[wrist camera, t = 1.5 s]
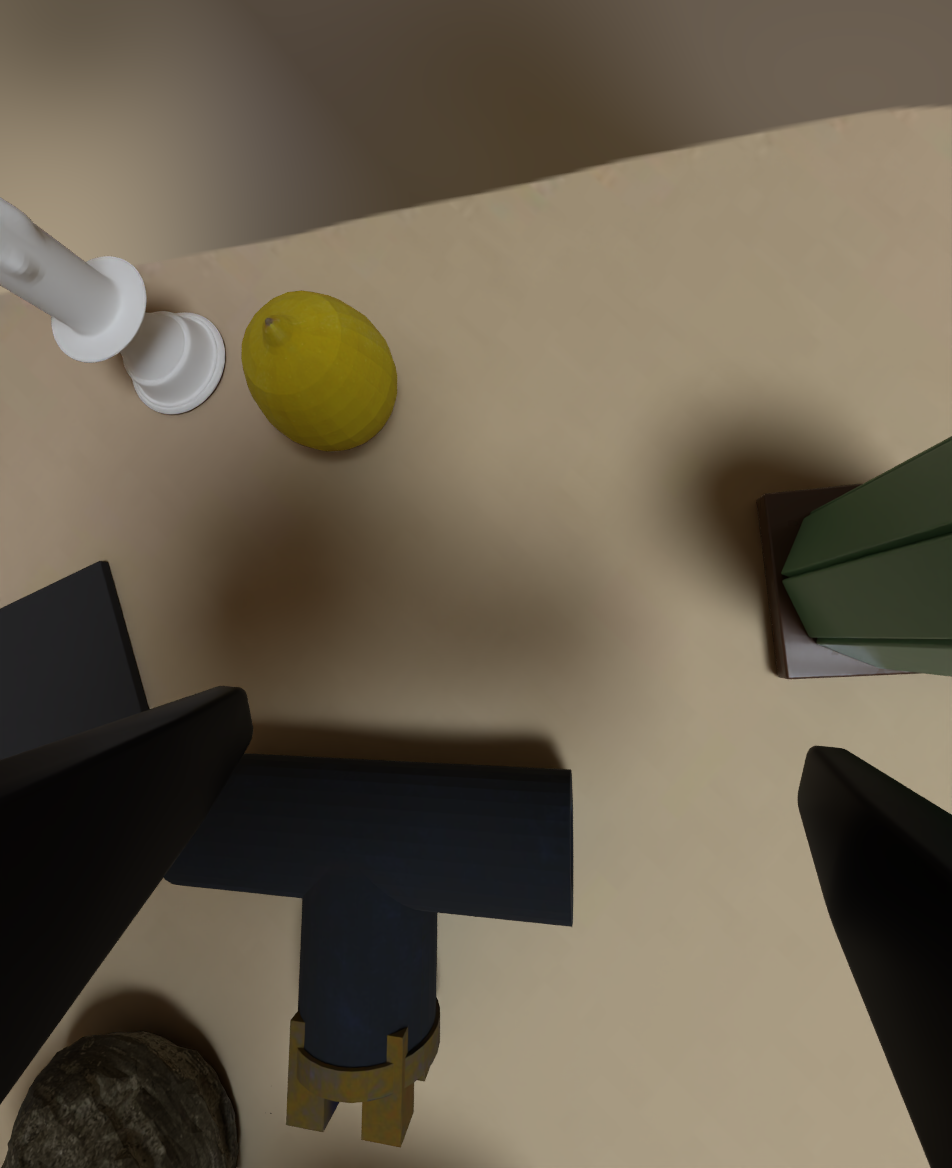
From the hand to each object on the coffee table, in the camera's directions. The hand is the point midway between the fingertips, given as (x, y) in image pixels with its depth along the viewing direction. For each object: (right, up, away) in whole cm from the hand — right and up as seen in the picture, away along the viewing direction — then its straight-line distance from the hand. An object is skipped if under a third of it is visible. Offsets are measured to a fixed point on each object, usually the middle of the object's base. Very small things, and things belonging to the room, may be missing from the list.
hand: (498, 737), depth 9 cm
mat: (-22, -3, +18) cm, 29 cm away
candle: (-15, +14, +19) cm, 28 cm away
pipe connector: (-4, -10, +14) cm, 18 cm away
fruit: (-6, +10, +17) cm, 20 cm away
